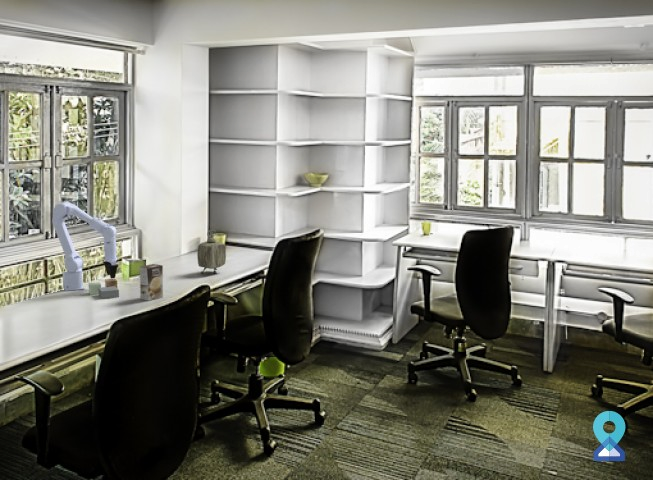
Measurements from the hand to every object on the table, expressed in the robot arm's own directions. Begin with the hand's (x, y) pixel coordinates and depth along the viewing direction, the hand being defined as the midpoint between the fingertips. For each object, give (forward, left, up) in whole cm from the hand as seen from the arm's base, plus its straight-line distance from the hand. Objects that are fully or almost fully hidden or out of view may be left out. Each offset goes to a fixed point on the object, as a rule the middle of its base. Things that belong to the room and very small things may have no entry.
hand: (111, 276), depth 365 cm
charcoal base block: (-4, -13, -7) cm, 15 cm away
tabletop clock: (+59, +15, -7) cm, 61 cm away
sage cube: (-9, -5, -7) cm, 12 cm away
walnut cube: (0, 0, -7) cm, 7 cm away
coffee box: (+14, -25, -7) cm, 29 cm away
